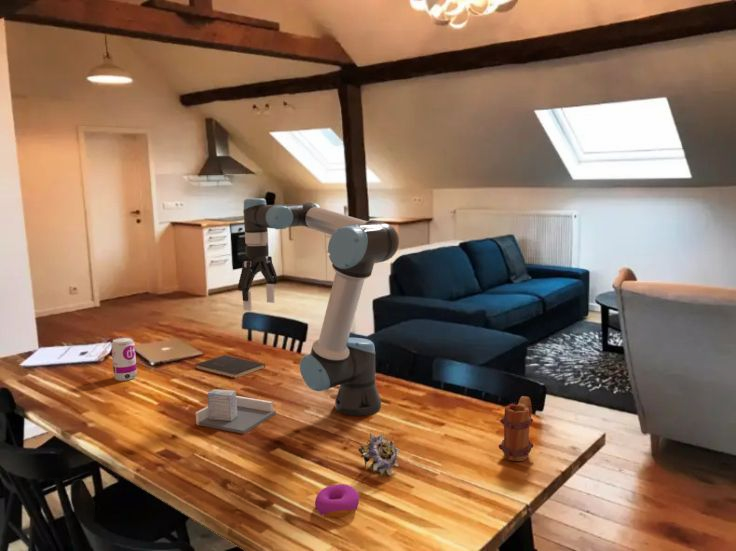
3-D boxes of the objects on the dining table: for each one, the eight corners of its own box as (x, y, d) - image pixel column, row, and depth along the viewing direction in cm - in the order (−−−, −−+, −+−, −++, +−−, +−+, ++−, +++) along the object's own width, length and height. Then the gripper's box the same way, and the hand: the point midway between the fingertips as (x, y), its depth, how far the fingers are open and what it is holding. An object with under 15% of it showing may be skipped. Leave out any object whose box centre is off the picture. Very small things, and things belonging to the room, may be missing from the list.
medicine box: (238, 416, 201) (236, 390, 199) (231, 422, 197) (230, 395, 195) (215, 414, 203) (213, 388, 201) (208, 419, 199) (206, 393, 197)
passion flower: (388, 494, 164) (379, 471, 156) (353, 476, 169) (343, 454, 161) (409, 458, 170) (402, 434, 162) (375, 442, 175) (367, 419, 167)
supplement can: (141, 376, 245) (138, 338, 243) (123, 382, 239) (120, 344, 236) (128, 373, 250) (125, 336, 247) (109, 379, 243) (106, 341, 240)
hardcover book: (235, 379, 241) (234, 373, 241) (195, 369, 255) (195, 364, 254) (265, 368, 254) (265, 363, 254) (226, 359, 267) (225, 354, 267)
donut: (320, 497, 153) (319, 479, 152) (362, 499, 152) (361, 481, 151) (311, 520, 143) (311, 501, 142) (356, 522, 141) (356, 503, 141)
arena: (275, 414, 205) (275, 402, 204) (244, 433, 190) (243, 421, 189) (230, 406, 213) (229, 394, 212) (196, 424, 198) (195, 412, 197)
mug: (524, 468, 165) (526, 413, 163) (495, 461, 170) (495, 407, 167) (541, 447, 178) (543, 395, 175) (513, 441, 182) (514, 390, 179)
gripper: (268, 240, 227) (270, 298, 231) (224, 248, 205) (227, 312, 208) (286, 240, 224) (288, 300, 227) (243, 249, 202) (246, 314, 205)
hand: (259, 306), depth 218 cm, fingers open, 13 cm apart
